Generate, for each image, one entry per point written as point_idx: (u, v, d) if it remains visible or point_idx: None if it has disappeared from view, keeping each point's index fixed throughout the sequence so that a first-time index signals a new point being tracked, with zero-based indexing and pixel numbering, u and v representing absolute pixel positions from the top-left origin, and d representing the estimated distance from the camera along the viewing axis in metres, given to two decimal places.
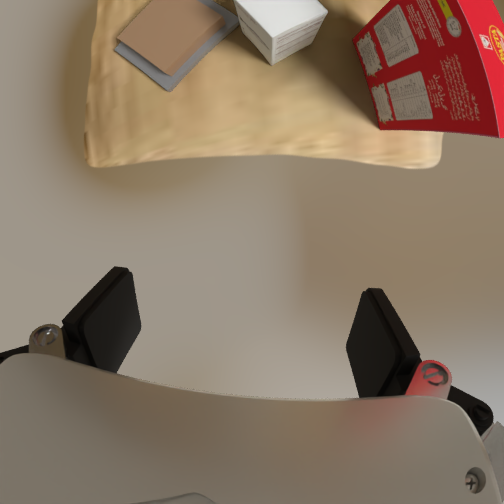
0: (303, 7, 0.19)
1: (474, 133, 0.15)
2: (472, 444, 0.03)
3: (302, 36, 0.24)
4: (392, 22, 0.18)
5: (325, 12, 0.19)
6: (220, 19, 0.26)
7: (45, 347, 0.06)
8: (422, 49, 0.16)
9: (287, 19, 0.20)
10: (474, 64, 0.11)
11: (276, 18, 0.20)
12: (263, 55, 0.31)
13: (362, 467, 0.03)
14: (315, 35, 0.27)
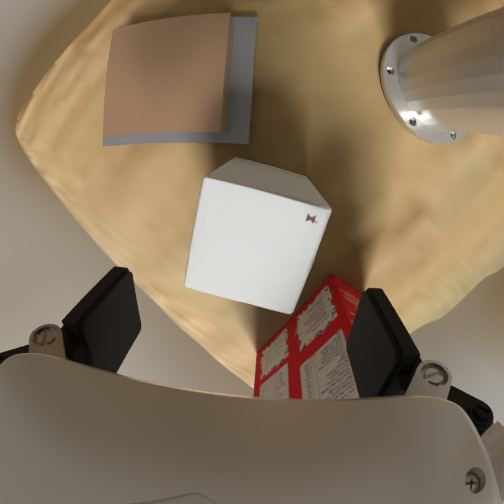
0: (268, 287, 0.17)
1: None
2: (472, 444, 0.03)
3: None
4: (341, 380, 0.18)
5: (287, 312, 0.17)
6: (215, 131, 0.21)
7: (45, 347, 0.06)
8: None
9: (227, 285, 0.17)
10: None
11: (215, 271, 0.16)
12: None
13: (362, 467, 0.03)
14: None
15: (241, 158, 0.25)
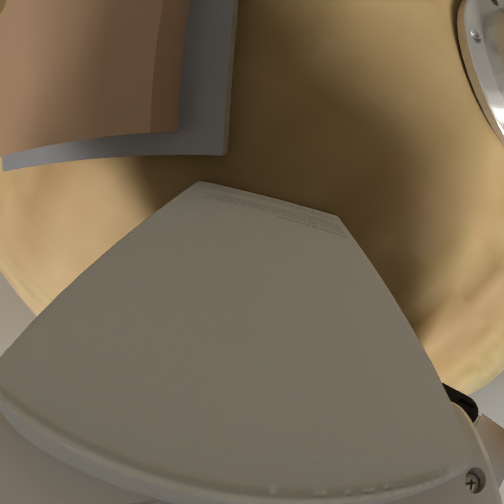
0: None
1: None
2: (472, 444, 0.03)
3: None
4: None
5: None
6: None
7: None
8: None
9: None
10: None
11: None
12: None
13: None
14: None
15: (209, 184, 0.13)
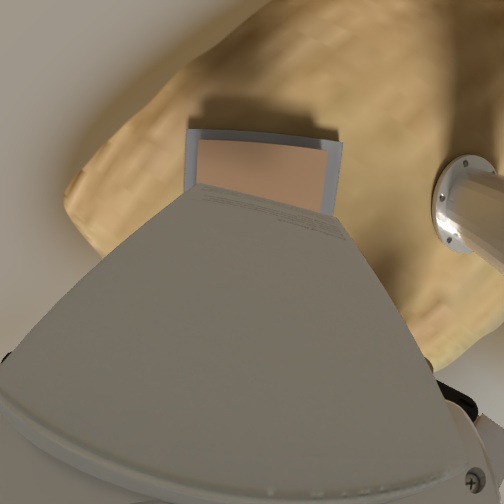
0: None
1: None
2: (472, 444, 0.03)
3: None
4: None
5: None
6: None
7: None
8: None
9: None
10: None
11: None
12: None
13: None
14: None
15: (209, 186, 0.13)
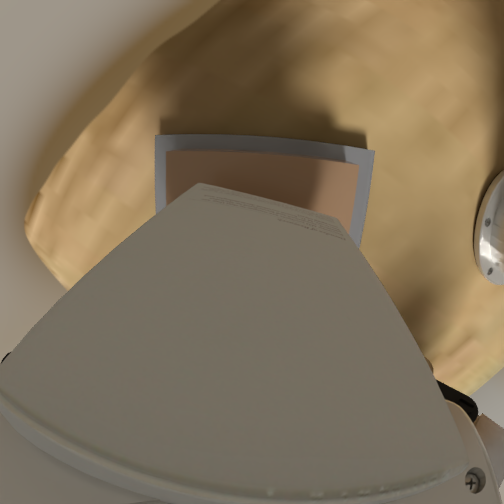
0: None
1: None
2: (472, 444, 0.03)
3: None
4: None
5: None
6: None
7: None
8: None
9: None
10: None
11: None
12: None
13: None
14: None
15: (209, 186, 0.13)
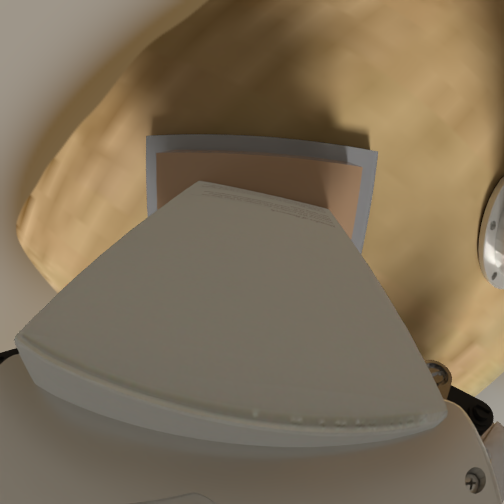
0: None
1: None
2: (472, 444, 0.03)
3: None
4: None
5: None
6: None
7: None
8: None
9: None
10: None
11: None
12: None
13: (362, 467, 0.03)
14: None
15: (208, 183, 0.14)
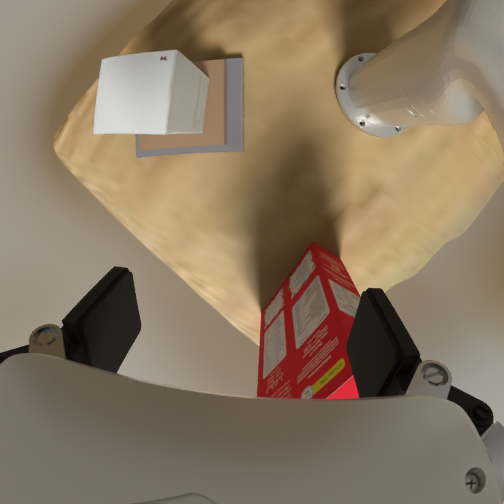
0: (143, 113, 0.19)
1: None
2: (472, 444, 0.03)
3: None
4: (318, 305, 0.29)
5: (162, 132, 0.19)
6: (220, 144, 0.32)
7: (45, 347, 0.06)
8: (297, 354, 0.27)
9: (118, 121, 0.19)
10: None
11: (109, 114, 0.19)
12: None
13: (362, 467, 0.03)
14: None
15: None
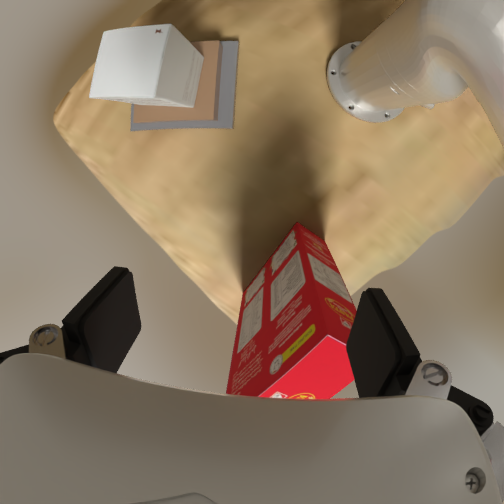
0: (136, 79, 0.19)
1: None
2: (472, 444, 0.03)
3: None
4: (295, 277, 0.29)
5: (151, 96, 0.19)
6: (210, 119, 0.32)
7: (45, 347, 0.06)
8: (271, 325, 0.27)
9: (112, 86, 0.19)
10: (253, 392, 0.22)
11: (105, 79, 0.18)
12: None
13: (362, 467, 0.03)
14: (181, 105, 0.27)
15: None
